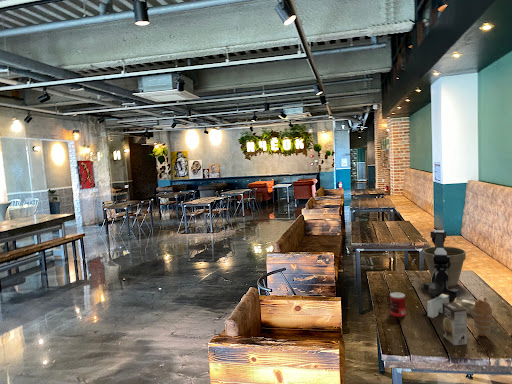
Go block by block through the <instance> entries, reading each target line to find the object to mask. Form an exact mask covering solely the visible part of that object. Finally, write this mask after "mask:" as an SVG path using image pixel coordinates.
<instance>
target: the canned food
mask: <svg viewBox="0 0 512 384" xmlns="http://www.w3.org/2000/svg"><path fill="white" fill-rule="evenodd" d="M389 303H390V304H389V305H390V306H389V307H390V309H389V310H390V315H391V316H392V317H395V318H404V317H406V314H407V313H406V312H407V311H406V295H405V293H402V292H399V291H395V292H391V293H389Z"/></svg>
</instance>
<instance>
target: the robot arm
mask: <svg viewBox="0 0 512 384" xmlns="http://www.w3.org/2000/svg"><path fill="white" fill-rule="evenodd" d="M429 234H430V236H429V237H430V238H431V241H432V244H433V245H434V247H435V251H434V256H433V268H435V270H434V272H433V276H430V278H431V281H430V282H429V281H428V282H426V283H423V285H422V290H424V291H425V292H426V293H428V295H429V297H430V300H432V299H434V298H436V297H438V296H440V295H441V294H445V295H449V296H448V298H449V303H453V302H454V300H455V298H456V299H457V298H458V297H461V296H462V290H461V289H458V288H451V289H449V288H450V287H449V286H448V280H449V278H448V273H447V269H450V268H449V266H451V265H450V258H449V256H447V252H446V251H445V250H444V247H445V245H444V244H445V243H446V242H445V241H446V239H447V231H444V230H443V229H432V231H430V233H429ZM434 263H435V266H434ZM447 263H448V266H447Z"/></svg>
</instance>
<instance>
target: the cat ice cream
mask: <svg viewBox="0 0 512 384" xmlns="http://www.w3.org/2000/svg"><path fill="white" fill-rule="evenodd" d="M474 302H475V306H474V307H473V316H472V317H473V324H474V327H475V329H476V332H477V334H478V335H479V336H480V337H486V336H487V335H488V333H489V331H490V329H491V325H492V320H493V316H492V314H493V309H492V307H491V305H490V303H489V302H488V301H487V297H486V296H484V297H483V298H479V299H477V300H475V301H474Z"/></svg>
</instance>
